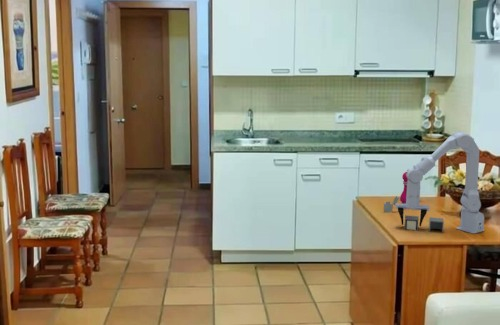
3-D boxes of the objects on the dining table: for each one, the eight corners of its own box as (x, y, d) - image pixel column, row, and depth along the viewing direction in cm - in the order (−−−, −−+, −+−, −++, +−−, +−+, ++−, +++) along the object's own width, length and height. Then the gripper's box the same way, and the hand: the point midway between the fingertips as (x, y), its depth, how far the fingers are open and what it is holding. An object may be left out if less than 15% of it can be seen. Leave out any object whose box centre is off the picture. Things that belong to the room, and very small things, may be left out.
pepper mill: (414, 209, 299) (416, 170, 295) (399, 208, 300) (401, 169, 297) (413, 206, 306) (415, 167, 302) (399, 205, 307) (401, 167, 304)
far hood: (404, 225, 270) (405, 215, 269) (417, 227, 268) (418, 216, 267) (404, 229, 264) (405, 218, 263) (417, 230, 263) (418, 219, 262)
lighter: (383, 212, 293) (384, 196, 292) (383, 211, 295) (384, 195, 293) (398, 212, 293) (399, 196, 291) (397, 211, 294) (398, 196, 293)
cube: (406, 226, 268) (407, 218, 268) (415, 227, 267) (416, 218, 267) (406, 229, 265) (407, 220, 264) (415, 230, 264) (416, 221, 263)
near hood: (428, 228, 266) (429, 217, 266) (442, 229, 265) (443, 218, 264) (429, 231, 261) (429, 220, 260) (442, 232, 259) (443, 221, 259)
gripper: (396, 196, 261) (394, 226, 264) (430, 198, 258) (428, 228, 260) (396, 192, 268) (394, 221, 271) (430, 195, 264) (428, 224, 267)
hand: (411, 225), depth 266 cm, fingers open, 7 cm apart
